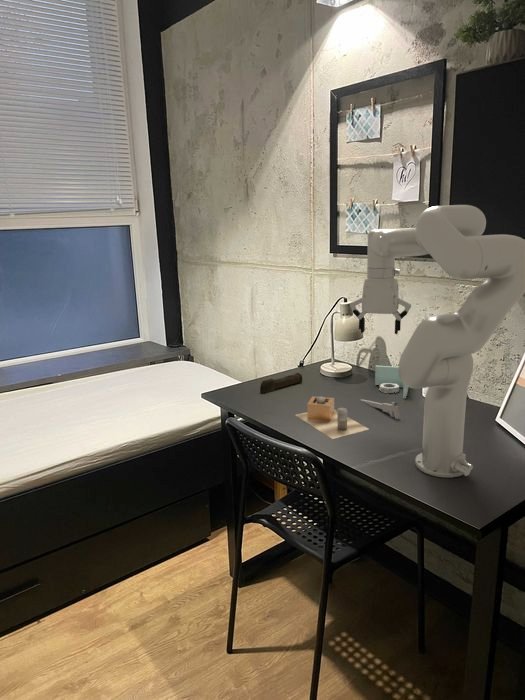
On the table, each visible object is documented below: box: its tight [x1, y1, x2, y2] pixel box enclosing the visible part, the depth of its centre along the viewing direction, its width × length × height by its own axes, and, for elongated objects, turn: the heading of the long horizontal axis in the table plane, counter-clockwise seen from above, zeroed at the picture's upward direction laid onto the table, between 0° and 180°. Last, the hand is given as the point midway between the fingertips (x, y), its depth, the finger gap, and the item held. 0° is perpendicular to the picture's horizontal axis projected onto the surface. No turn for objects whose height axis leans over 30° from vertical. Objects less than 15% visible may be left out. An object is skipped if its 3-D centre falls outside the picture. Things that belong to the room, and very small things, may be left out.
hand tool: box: [259, 372, 303, 394], centre depth 192 cm, size 19×4×5 cm, turn 125°
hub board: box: [295, 396, 370, 440], centre depth 156 cm, size 21×13×7 cm, turn 27°
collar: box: [306, 395, 335, 421], centre depth 161 cm, size 7×7×5 cm
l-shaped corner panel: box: [374, 365, 410, 399], centre depth 183 cm, size 12×12×8 cm
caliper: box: [360, 399, 400, 420], centre depth 165 cm, size 20×1×6 cm, turn 24°
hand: (379, 332), depth 150 cm, fingers open, 9 cm apart
